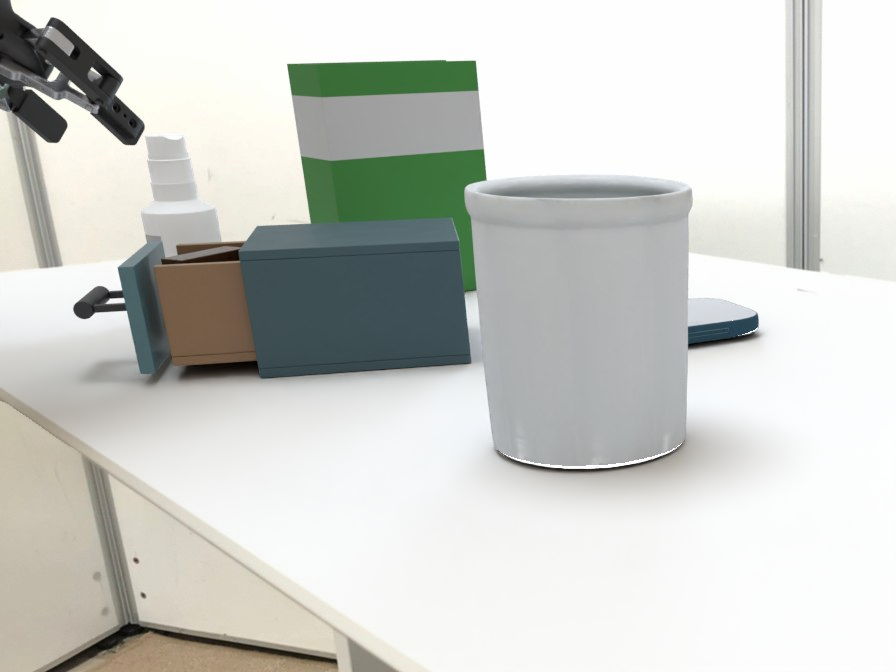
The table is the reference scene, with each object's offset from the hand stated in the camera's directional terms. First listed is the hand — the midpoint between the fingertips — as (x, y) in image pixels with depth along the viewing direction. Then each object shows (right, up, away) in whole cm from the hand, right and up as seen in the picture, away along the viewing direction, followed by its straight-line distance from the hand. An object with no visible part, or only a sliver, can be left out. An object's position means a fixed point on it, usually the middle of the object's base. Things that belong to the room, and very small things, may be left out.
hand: (97, 135), depth 92 cm
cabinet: (+16, -14, +17) cm, 27 cm away
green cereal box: (+13, -3, +42) cm, 44 cm away
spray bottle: (-5, -9, +29) cm, 31 cm away
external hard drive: (+40, -12, +20) cm, 46 cm away
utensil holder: (+39, -24, -7) cm, 47 cm away
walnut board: (+4, -13, +14) cm, 19 cm away
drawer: (+4, -14, +14) cm, 20 cm away
